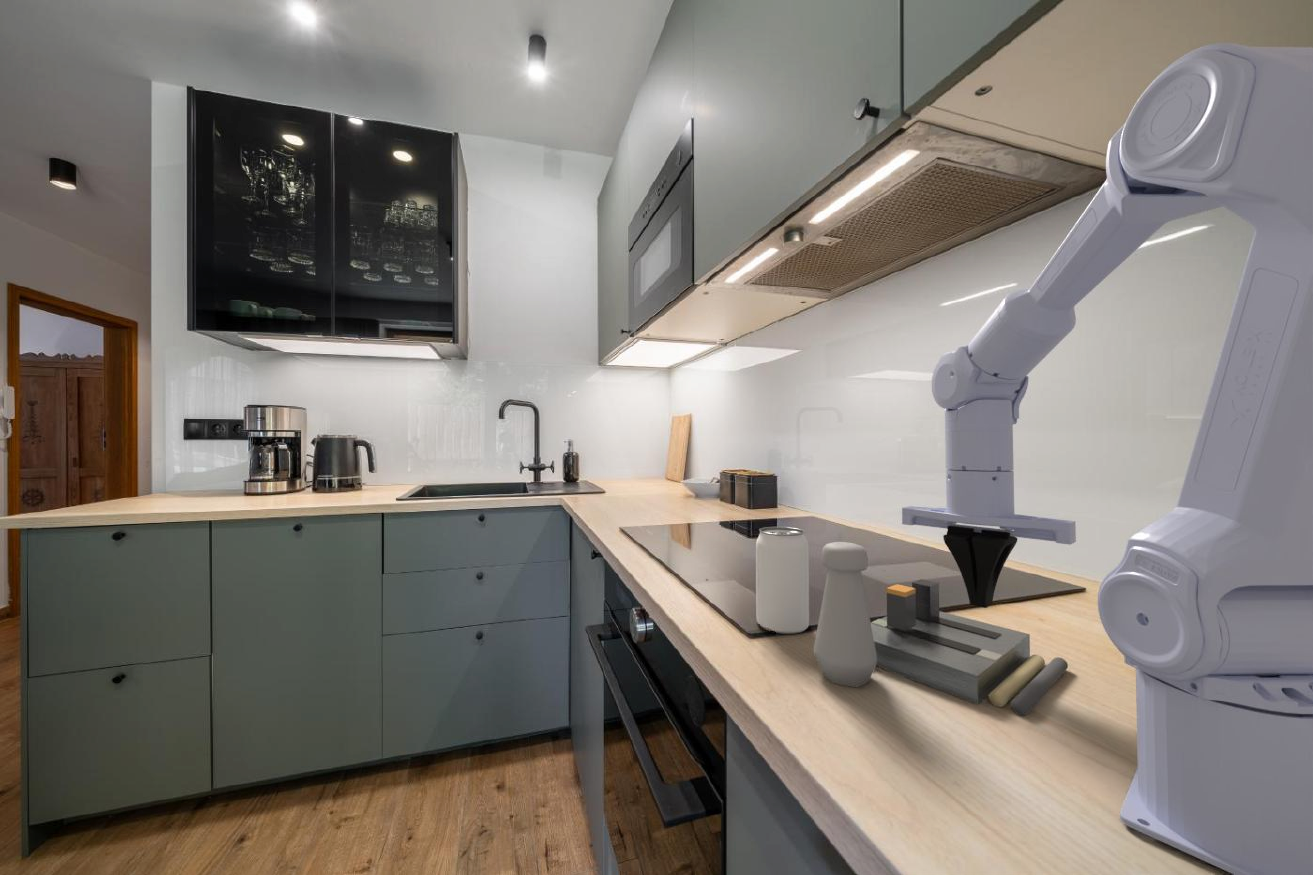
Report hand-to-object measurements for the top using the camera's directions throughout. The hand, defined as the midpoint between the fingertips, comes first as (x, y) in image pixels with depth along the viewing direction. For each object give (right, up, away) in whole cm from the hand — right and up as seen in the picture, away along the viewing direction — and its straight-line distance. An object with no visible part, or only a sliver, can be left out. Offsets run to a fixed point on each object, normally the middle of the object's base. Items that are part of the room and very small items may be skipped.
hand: (981, 604), depth 47 cm
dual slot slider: (-3, -7, +3) cm, 8 cm away
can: (-17, -7, +12) cm, 22 cm away
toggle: (-6, -4, +4) cm, 8 cm away
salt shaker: (-14, -7, -1) cm, 16 cm away
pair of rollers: (+2, -7, -3) cm, 8 cm away
